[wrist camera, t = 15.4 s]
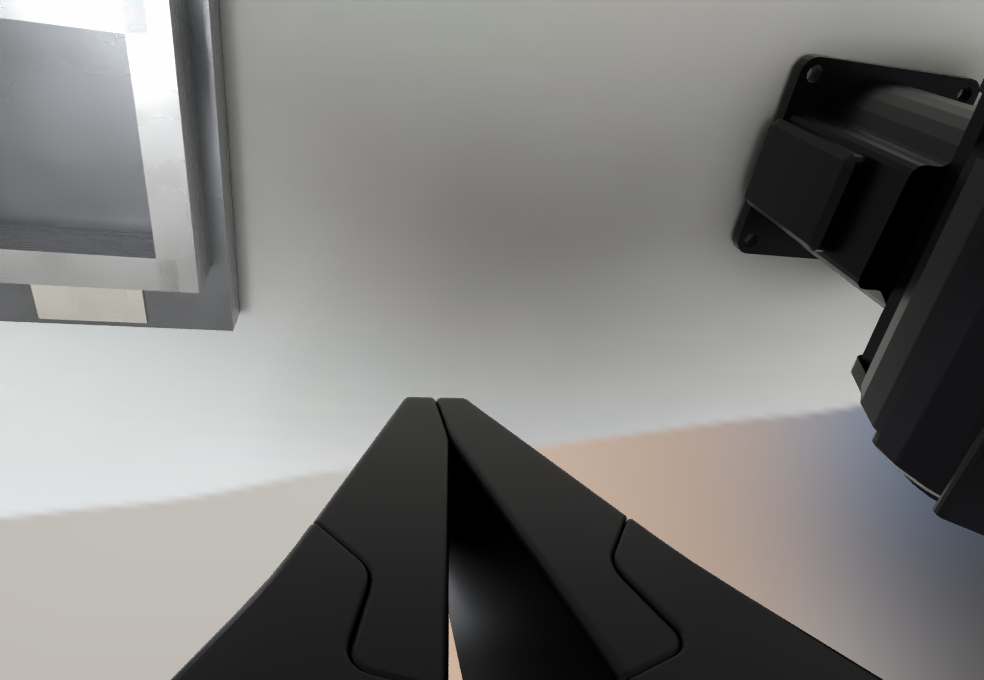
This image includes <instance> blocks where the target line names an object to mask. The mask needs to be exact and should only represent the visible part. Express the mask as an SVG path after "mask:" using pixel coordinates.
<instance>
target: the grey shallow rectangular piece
mask: <svg viewBox="0 0 984 680" xmlns="http://www.w3.org/2000/svg"><path fill="white" fill-rule="evenodd" d="M239 313H240V310H239V295H238V280H237V265H236V250H235V236H234V221H233V206H232V191H231V176H230V162H229V147H228V132H227V117H226V103H225V88H224V73H223V58H222V43H221V29H220V14H219V0H0V321H15V322H39V323H62V324H86V325H110V326H133V327H157V328H181V329H204V330H228V331H233V330H234V327H235V324H236V321H237V318H238V315H239Z"/></svg>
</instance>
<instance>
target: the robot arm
mask: <svg viewBox="0 0 984 680" xmlns="http://www.w3.org/2000/svg"><path fill="white" fill-rule="evenodd" d="M813 66H815V73H814V75H813V76H812V77H811V78H810V79H809V80H807V73H808V71H809V69H810V68H812V67H813ZM962 89H963V90H962ZM960 90H962V94H961V95H960V97H959V98H957V95H958V93H959V92H960ZM979 92H981V93H982V95H981V98H980V100H979V102H978V104H977V106H976V107H975V106H973V104H974V102H975V100H976V98H977V96H978V93H979ZM956 98H957V99H956ZM745 198H746V201H745V204H744V207H743V209H742V212H741V215H740V218H739V220H738V223H737V226H736V229H735V231H734V234H733V244H734V245H735V246H736V247H737V248H738V249H739V250H740V251H741V252H743V253H748V254H761V255H774V256H787V257H800V258H813V259H820V260H821V261H822V262H824V263H825V264H826V265H827V266H829V267H830V268H831V269H833V270H834V271H835V272H837V273H838V274H839V275H841V276H842V277H843V278H845V279H846V280H847V281H849V282H850V283H851V284H853V285H854V286H855V287H856V288H858V289H859V290H860V291H862V292H863V293H864V294H866V295H867V296H868V297H870V298H871V299H872V300H874V301H875V302H876V303H878V304H879V305H880V306H882V307H883V308H884V310H883V312H882V314H881V316H880V318H879V320H878V323H877V325H876V327H875V329H874V331H873V334H872V336H871V338H870V340H869V342H868V344H867V347H866V349H865V351H864V353H863V355H859V356H858V357H857V359H856V361H855V364H854V366H853V368H852V370H851V373H852V375H853V377H854V379H855V381H856V383H857V385H858V388H859V390H860V392H861V402H860V403H861V405H862V407H863V408H864V410H865V412H866V414H867V416H868V418H869V420H870V422H871V423H872V426H873V427H874V428H875V429H876V432H875V434H874V436H873V440H872V441H873V443H874V445H875V446H876V448H877V449H878V450H879V452H880V453H881V454H882V455H883V456H884V457H885V458H886V459H887V460H888V461H889V462H891V463H892V464H893V465H894V466H895V467H896V468H897V469H898V470H899V471H900V472H902V473H903V474H904V475H905V476H906V477H907V478H908V479H909V480H910V481H911V482H912V484H914V485H915V486H916V487H917V488H919V489H920V490H921V491H923V492H924V493H925V494H926V495H928V496H929V497H931V498H932V499H934V500H936V501H937V502H936V504H935V506H934V507H933V511H934V512H935V513H936V515H938V516H939V517H940V518H942V519H945V520H947V521H950V522H952V523H954V524H957V525H959V526H962V527H964V528H967V529H969V530H972V531H974V532H977V533H979V534H982V535H984V79H983V81H982V84H981V86H980V88H979V84H978V82H977V81H975V80H973V79H970V78H966V77H962V76H955V75H948V74H942V73H935V72H928V71H922V70H915V69H908V68H902V67H895V66H888V65H881V64H875V63H868V62H861V61H855V60H848V59H841V58H835V57H828V56H821V55H815V54H813V55H807V56H805V57H803V58H801V59H800V60H799V61H798V62H797V63H796V65H795V67H794V69H793V71H792V74H791V77H790V80H789V83H788V85H787V88H786V91H785V94H784V96H783V99H782V102H781V105H780V107H779V110H778V113H777V116H776V118H775V121H774V123H773V124H772V125H771V126H770V128H769V131H768V134H767V137H766V139H765V142H764V145H763V148H762V150H761V153H760V156H759V159H758V161H757V164H756V167H755V170H754V173H753V175H752V178H751V181H750V184H749V186H748V189H747V192H746V195H745ZM750 234H753V236H752V238H751V240H749V241H748V242H745V239H746V237H747V236H748V235H750ZM449 617H450V622H451V627H452V631H453V636H454V640H455V646H456V650H457V655H458V660H459V665H460V669H461V674H462V679H463V680H882V679H881V678H879V677H878V676H876V675H874V674H873V673H871V672H870V671H868V670H866V669H865V668H863V667H861V666H860V665H858V664H856V663H855V662H853V661H852V660H850V659H848V658H847V657H845V656H844V655H842V654H840V653H839V652H837V651H835V650H834V649H832V648H831V647H829V646H827V645H826V644H824V643H822V642H821V641H819V640H817V639H816V638H814V637H813V636H811V635H809V634H808V633H806V632H804V631H803V630H801V629H800V628H798V627H796V626H795V625H793V624H791V623H790V622H788V621H787V620H785V619H783V618H782V617H780V616H778V615H777V614H775V613H774V612H772V611H770V610H769V609H767V608H765V607H764V606H762V605H761V604H759V603H757V602H756V601H754V600H752V599H750V598H749V597H747V596H746V595H744V594H743V593H741V592H739V591H738V590H736V589H735V588H733V587H731V586H730V585H728V584H727V583H725V582H724V581H722V580H720V579H719V578H717V577H716V576H714V575H713V574H711V573H709V572H708V571H706V570H705V569H703V568H702V567H700V566H698V565H697V564H695V563H694V562H692V561H691V560H689V559H688V558H686V557H685V556H683V555H682V554H681V553H679V552H678V551H676V550H675V549H673V548H672V547H670V546H669V545H668V544H666V543H665V542H663V541H662V540H660V539H659V538H658V537H656V536H654V535H653V534H652V533H650V532H649V531H648V530H646V529H645V528H644V527H642V526H641V525H640V524H638V523H637V522H635V521H634V520H633V519H628V520H627V517H626V516H625V515H624V514H623V513H621V512H620V511H619V510H617V509H616V508H614V507H613V506H612V505H610V504H609V503H608V502H606V501H605V500H603V499H602V498H601V497H599V496H598V495H597V494H595V493H594V492H592V491H591V490H590V489H588V488H587V487H586V486H584V485H583V484H581V483H580V482H579V481H577V480H576V479H575V478H573V477H572V476H570V475H569V474H568V473H566V472H565V471H564V470H562V469H561V468H560V467H558V466H557V465H555V464H554V463H553V462H551V461H550V460H549V459H547V458H546V457H545V456H543V455H542V454H540V453H539V452H538V451H536V450H535V449H534V448H532V447H531V446H529V445H528V444H527V443H525V442H524V441H523V440H521V439H520V438H518V437H517V436H516V435H514V434H513V433H512V432H510V431H509V430H508V429H506V428H505V427H503V426H502V425H501V424H499V423H498V422H497V421H495V420H494V419H492V418H491V417H490V416H488V415H487V414H486V413H484V412H483V411H481V410H480V409H479V408H477V407H476V406H475V405H473V404H472V403H470V402H469V401H468V400H466V399H463V398H439V399H438V400H437V401H435V400H434V399H433V398H426V397H407V398H406V399H404V401H403V402H402V403H401V405H400V406H399V407H398V409H397V410H396V411H395V413H394V414H393V415H392V417H391V418H390V419H389V421H388V422H387V424H386V425H385V426H384V428H383V429H382V430H381V432H380V433H379V434H378V436H377V437H376V438H375V440H374V441H373V443H372V444H371V445H370V447H369V448H368V449H367V451H366V452H365V453H364V455H363V456H362V457H361V459H360V460H359V462H358V463H357V464H356V466H355V467H354V468H353V470H352V471H351V472H350V474H349V475H348V477H347V478H346V479H345V481H344V482H343V483H342V485H341V486H340V487H339V489H338V490H337V492H336V493H335V494H334V495H333V497H332V498H331V500H330V501H329V502H328V504H327V505H326V506H325V508H324V509H323V511H322V512H321V513H320V514H319V516H318V517H317V518H316V520H315V521H314V523H313V525H311V526H310V527H309V528H308V529H307V531H306V532H305V533H304V535H303V536H302V537H301V539H300V540H299V541H298V543H297V544H296V546H295V547H294V548H293V549H292V551H291V552H290V553H289V554H288V555H287V557H286V558H285V559H284V560H283V562H282V563H281V564H280V565H279V567H278V568H277V569H276V570H275V572H274V573H273V574H272V575H271V577H270V578H269V579H268V580H267V581H266V582H265V583H264V584H263V585H262V586H261V587H260V588H259V589H258V590H257V592H256V593H255V594H254V595H253V596H252V597H251V598H250V599H249V600H248V601H247V602H246V603H245V604H244V605H243V607H242V608H241V609H240V610H239V611H238V612H237V613H236V614H235V615H234V616H233V617H232V618H231V619H230V620H229V621H228V622H227V623H226V624H225V625H224V626H223V627H222V628H221V629H220V630H219V631H218V632H217V633H216V634H215V635H214V636H213V637H212V638H211V639H210V640H209V641H208V642H207V643H206V644H205V646H204V647H202V648H201V650H200V651H199V652H197V653H196V654H195V655H194V657H193V658H192V659H191V660H190V661H189V662H188V663H187V664H186V665H185V666H184V667H183V668H182V669H181V670H180V671H179V672H178V673H177V674H176V675H175V676H174V677H173V678H172V679H171V680H448V655H449V654H448V653H449V651H448V649H449V643H448V642H449V640H448V639H449V631H448V630H449Z"/></svg>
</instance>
